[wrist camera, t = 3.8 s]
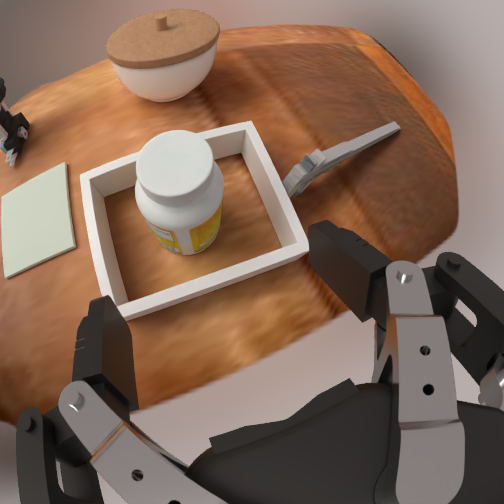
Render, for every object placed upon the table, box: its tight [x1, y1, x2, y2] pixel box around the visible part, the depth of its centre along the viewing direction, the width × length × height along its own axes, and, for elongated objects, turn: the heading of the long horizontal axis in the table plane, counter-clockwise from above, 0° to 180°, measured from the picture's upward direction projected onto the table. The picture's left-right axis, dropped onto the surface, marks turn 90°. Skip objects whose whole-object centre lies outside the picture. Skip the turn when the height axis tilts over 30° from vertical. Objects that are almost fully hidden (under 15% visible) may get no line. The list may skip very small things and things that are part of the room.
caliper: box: [282, 121, 400, 199], centre depth 23 cm, size 20×1×6 cm, turn 128°
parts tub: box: [80, 121, 309, 321], centre depth 20 cm, size 12×15×4 cm
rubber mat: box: [1, 162, 76, 279], centre depth 20 cm, size 9×9×1 cm
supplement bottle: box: [135, 130, 224, 255], centre depth 17 cm, size 5×5×10 cm
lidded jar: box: [106, 9, 220, 102], centre depth 21 cm, size 11×11×9 cm
